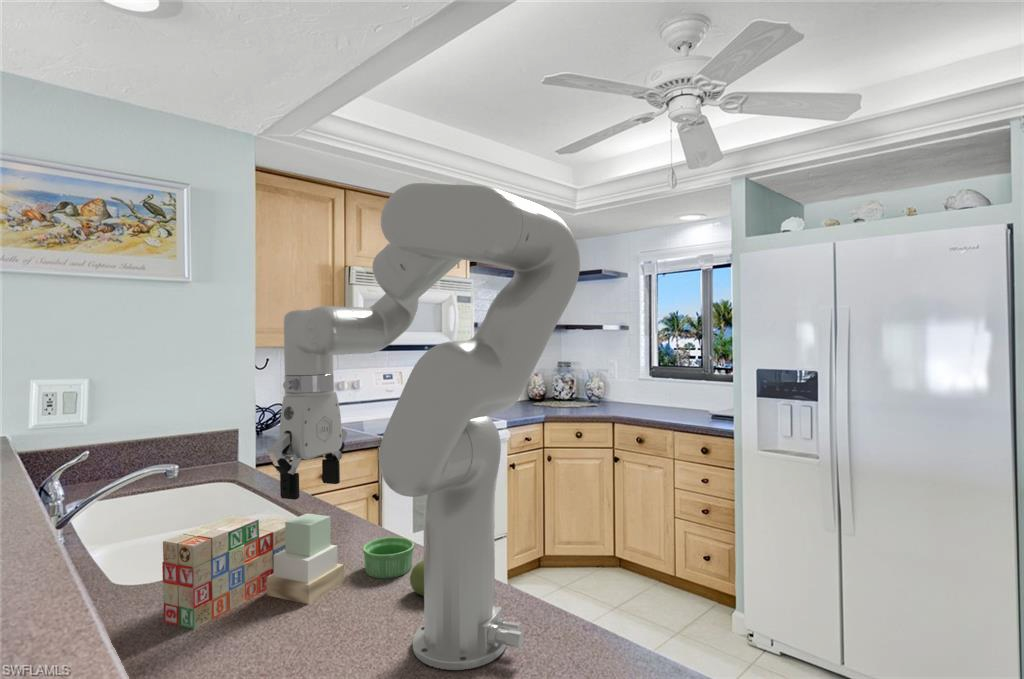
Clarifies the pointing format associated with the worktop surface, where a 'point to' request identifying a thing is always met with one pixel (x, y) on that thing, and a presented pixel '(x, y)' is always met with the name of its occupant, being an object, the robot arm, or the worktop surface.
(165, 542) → the stack of blocks
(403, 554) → the ramekin
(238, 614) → the worktop surface
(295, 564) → the tower top
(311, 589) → the tower base
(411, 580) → the pear
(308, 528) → the sage cube
